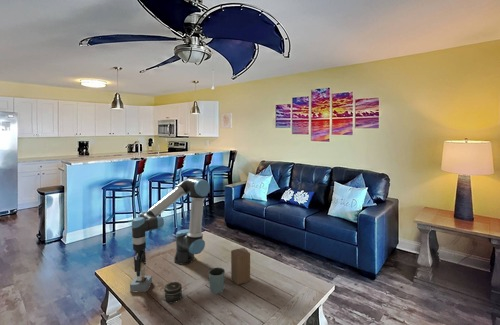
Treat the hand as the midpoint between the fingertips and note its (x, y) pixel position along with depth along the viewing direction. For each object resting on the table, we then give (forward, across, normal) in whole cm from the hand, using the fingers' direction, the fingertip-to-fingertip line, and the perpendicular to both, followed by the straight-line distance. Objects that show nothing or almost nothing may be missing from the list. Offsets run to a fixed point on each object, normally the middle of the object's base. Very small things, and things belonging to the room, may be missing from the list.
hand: (141, 277), depth 169 cm
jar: (+7, +12, +23) cm, 27 cm away
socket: (+7, 0, 0) cm, 7 cm away
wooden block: (+7, -6, +63) cm, 64 cm away
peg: (+7, 0, 0) cm, 7 cm away
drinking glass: (+7, +4, +48) cm, 49 cm away
